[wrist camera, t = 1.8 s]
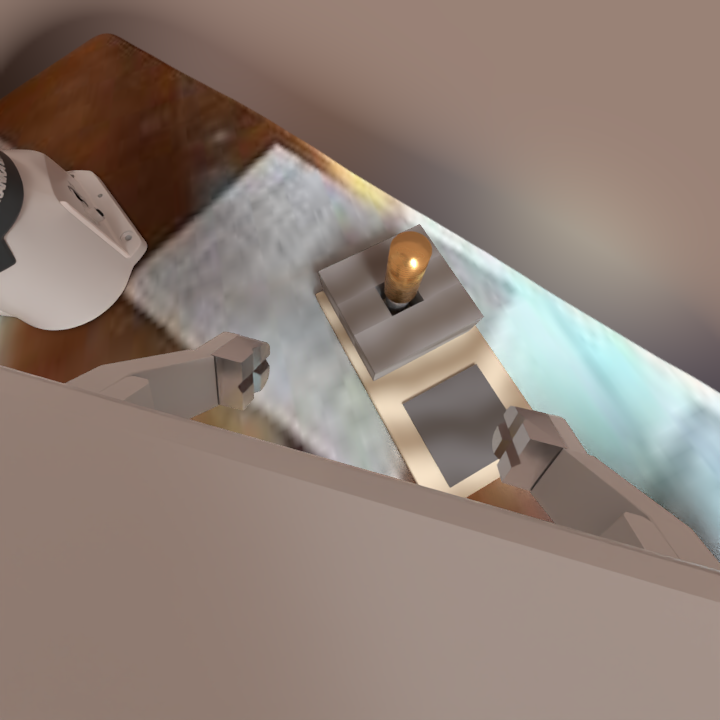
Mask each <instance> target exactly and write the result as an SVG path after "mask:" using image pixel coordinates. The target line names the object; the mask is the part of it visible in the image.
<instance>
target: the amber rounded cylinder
mask: <svg viewBox="0 0 720 720" xmlns="http://www.w3.org/2000/svg"><path fill="white" fill-rule="evenodd" d="M431 255H432V246H431V243H430V241H429V240H428V239H427V238H426V237H425V236H424V235H422V234H420V233H418V232H414V231H407V232H402V233H400V234H398V235H397V236H396V237H395V238H394V239H393V240H392V242H391V244H390V250H389V257H388V263H387V270H386V276H385V283H384V292H385V295H386V301H385V305H386V306H387V308H388V310H389V311H390V313H391V315H392V316H394V315H396V314H398V313H400V312H402V311H404V310H406V309H407V306H408V303H409V302H410V301H411V300H412V299H413V298H414V297H415V296H416V293H417V291H418V288H419V286H420V283H421V281H422V278H423V275H424V273H425V270H426V268H427V265H428V263H429V260H430V257H431Z"/></svg>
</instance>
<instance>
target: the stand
mask: <svg viewBox="0 0 720 720" xmlns="http://www.w3.org/2000/svg"><path fill="white" fill-rule="evenodd" d="M407 231H414V232H418V233H420V234H422V235H424V236H425V237H426V238H427V239H428V240H429V241H430V243H431V246H432V255H431V257H430V260H429V263H428V265H427V268H426V270H425V273H424V275H423V278H422V281H421V283H420V286H419V288H418V291H417V293H416V296H415V297H414V298H413V299H412V300H411V301H410V302H409V303H408V306H407V309H406V310H404V311H402V312H400V313H398V314H396V315H394V316H392V315H391V313H390V311H389V310H388V308H387V306H386V305H385V301H386V295H385V292H384V283H385V276H386V270H387V263H388V257H389V250H390V244H391V242H392V240H393V239H394V238H395V237H396V236H397V235H395V236H393V237H391V238H389V239H387V240H385V241H383V242H380V243H378V244H376V245H374V246H372V247H370V248H367V249H365V250H363V251H361V252H359V253H357V254H355V255H352V256H350V257H348V258H346V259H344V260H342V261H339V262H337V263H335V264H333V265H331V266H329V267H327V268H324V269H322V270H320V271H318V272H319V276H320V280H321V284H322V288H323V291H321V292H319V293H317V294H315V295H316V298H317V301H318V302H319V304H320V306H321V308H322V310H323V312H324V314H325V315H326V317H327V319H328V321H329V323H330V325H331V326H332V328H333V330H334V332H335V334H336V336H337V338H338V339H339V341H340V343H341V345H342V347H343V349H344V351H345V352H346V354H347V356H348V358H349V360H350V362H351V363H352V365H353V367H354V369H355V371H356V373H357V375H358V376H359V378H360V380H361V382H362V384H363V386H364V387H365V389H366V391H367V393H368V395H369V397H370V399H371V400H372V402H373V404H374V406H375V408H376V410H377V412H378V413H379V415H380V417H381V419H382V421H383V423H384V424H385V426H386V428H387V430H388V432H389V434H390V436H391V437H392V439H393V441H394V443H395V445H396V447H397V448H398V450H399V452H400V454H401V456H402V458H403V460H404V461H405V463H406V465H407V467H408V469H409V471H410V472H411V474H412V476H413V478H414V480H415V482H416V484H418V485H421V486H425V487H428V488H432V489H435V490H439V491H442V492H446V493H449V494H453V495H456V496H460V497H463V498H466V497H468V496H469V495H471V494H473V493H474V492H476V491H478V490H479V489H481V488H482V487H484V486H486V485H487V484H489V483H491V482H492V481H494V480H496V479H497V478H499V477H500V474H499V471H498V467H497V464H498V462H499V459H498V458H497V457H496V456H495V455H494V453H493V449H492V439H493V434H494V432H495V430H496V428H497V426H498V425H500V424H502V423H504V422H505V419H504V413H505V412H506V410H507V409H508V408H509V407H510V406H516V407H520V408H524V409H529V410H532V408H531V407H530V405H529V404H528V402H527V401H526V399H525V398H524V396H523V395H522V394H521V392H520V391H519V389H518V388H517V386H516V385H515V383H514V382H513V380H512V379H511V377H510V376H509V374H508V373H507V371H506V370H505V368H504V367H503V366H502V364H501V363H500V361H499V360H498V358H497V357H496V355H495V354H494V352H493V351H492V349H491V348H490V346H489V345H488V343H487V342H486V340H485V339H484V338H483V336H482V335H481V333H480V332H479V330H478V329H477V327H476V326H475V325H476V324H477V323H478V322H479V321H480V320H481V319H482V318H483V317H484V316H483V315H482V313H481V312H480V310H479V309H478V307H477V306H476V305H475V303H474V302H473V300H472V299H471V297H470V296H469V294H468V293H467V292H466V290H465V289H464V287H463V286H462V284H461V283H460V281H459V280H458V279H457V277H456V276H455V274H454V273H453V271H452V270H451V268H450V267H449V266H448V264H447V263H446V261H445V260H444V258H443V257H442V255H441V254H440V253H439V251H438V250H437V248H436V247H435V245H434V244H433V242H432V241H431V240H430V238H429V237H428V235H427V234H426V232H425V231H424V229H423V228H422V227H421V225H420V224H419V225H417V226H415V227H413V228H411V229H408V230H406V231H404V232H407Z"/></svg>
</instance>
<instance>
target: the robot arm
mask: <svg viewBox="0 0 720 720" xmlns="http://www.w3.org/2000/svg"><path fill="white" fill-rule="evenodd" d="M146 250H147V243H146V241H145V240H144V239H143V237H142V236H141V234H140V233H139V232H138V230H137V229H136V228H135V226H134V225H133V223H132V222H131V221H130V219H129V218H128V216H127V215H126V214H125V212H124V211H123V210H122V208H121V207H120V205H119V204H118V203H117V201H116V200H115V199H114V197H113V196H112V194H111V193H110V192H109V190H108V189H107V187H106V186H105V185H104V183H103V182H102V181H101V179H100V178H99V177H98V176H97V175H95V174H94V173H93V172H91V171H86V170H74V171H65V170H64V169H62V168H61V167H60V166H59V165H58V164H57V163H55V162H54V161H53V160H52V159H51V158H49V157H48V156H47V155H45V154H43V153H41V152H38V151H34V150H24V149H16V150H1V149H0V315H3V316H14V317H17V318H19V319H20V320H22V321H24V322H26V323H28V324H29V325H31V326H34V327H37V328H40V329H45V330H64V329H69V328H73V327H77V326H80V325H82V324H85V323H87V322H89V321H91V320H93V319H95V318H96V317H98V316H99V315H101V314H102V313H104V312H105V311H106V310H107V309H108V308H109V307H111V306H112V305H113V304H114V302H115V301H116V300H117V299H118V298H119V296H120V295H121V293H122V292H123V290H124V289H125V287H126V285H127V282H128V280H129V277H130V274H131V271H132V269H133V267H134V265H135V264H136V263H137V262H138V261H139V259H140V258H141V257H142V256H143V254H144V253H145V252H146ZM269 355H270V346H269V344H268V343H267V342H263V341H259V340H256V339H252V338H249V337H245V336H240V335H238V334H234V333H230V332H223V333H221V334H220V335H218V336H216V337H215V338H213V339H212V340H210V341H208V342H207V343H205V344H204V345H202V346H201V347H199V348H197V349H196V350H194V351H193V350H184V351H179V352H173V353H168V354H162V355H156V356H151V357H145V358H140V359H134V360H128V361H123V362H117V363H112V364H106V365H101V366H99V367H97V368H95V369H93V370H91V371H89V372H87V373H85V374H83V375H81V376H79V377H77V378H75V379H73V380H71V381H69V382H67V383H65V384H64V383H60V382H57V381H53V380H50V379H46V378H43V377H39V376H36V375H32V374H29V373H25V372H22V371H18V370H15V369H11V368H8V367H4V366H1V365H0V720H720V563H719V562H718V561H717V559H716V558H715V557H714V556H713V555H712V553H711V552H710V551H709V550H708V548H707V547H706V546H705V545H704V544H703V542H702V541H701V540H700V539H699V537H698V536H697V535H696V534H695V533H694V531H693V530H692V529H691V528H690V527H688V526H687V525H686V524H684V523H683V522H682V521H680V520H679V519H677V518H676V517H675V516H673V515H672V514H671V513H669V512H668V511H667V510H665V509H664V508H663V507H661V506H660V505H659V504H657V503H656V502H655V501H653V500H652V499H651V498H649V497H648V496H647V495H645V494H644V493H642V492H641V491H640V490H638V489H637V488H636V487H634V486H633V485H632V484H630V483H629V482H628V481H626V480H625V479H624V478H622V477H621V476H620V475H618V474H617V473H616V472H614V471H613V470H612V469H610V468H609V467H607V466H606V465H605V464H603V463H602V462H601V461H599V460H598V459H597V458H595V457H594V456H591V455H588V454H587V452H586V451H585V449H584V448H583V446H582V445H581V443H580V442H579V440H578V439H577V437H576V436H575V434H574V433H573V431H572V430H571V428H570V427H569V425H568V424H567V422H566V420H565V419H563V418H562V417H560V416H555V415H551V414H546V413H542V412H537V411H533V410H529V409H524V408H520V407H516V406H510V407H509V408H508V409H507V410H506V412H505V413H504V419H505V422H504V423H502V424H500V425H498V426H497V428H496V430H495V432H494V434H493V439H492V449H493V453H494V455H495V456H496V457H497V458H498V459H499V462H498V464H497V467H498V471H499V474H500V478H501V481H502V483H505V484H509V485H512V486H515V487H519V488H522V489H525V490H528V491H531V492H530V493H531V494H532V495H533V496H534V498H535V499H536V500H537V501H538V503H539V504H540V505H541V506H542V508H543V509H544V510H545V511H546V513H547V514H548V515H549V516H550V518H551V519H552V520H553V521H554V523H551V522H548V521H544V520H540V519H537V518H533V517H530V516H526V515H523V514H519V513H516V512H512V511H509V510H505V509H502V508H498V507H495V506H491V505H488V504H484V503H481V502H477V501H474V500H470V499H467V498H463V497H460V496H456V495H453V494H449V493H446V492H442V491H439V490H435V489H432V488H428V487H425V486H421V485H418V484H414V483H411V482H407V481H404V480H400V479H397V478H393V477H390V476H386V475H383V474H379V473H376V472H372V471H369V470H365V469H362V468H358V467H355V466H351V465H347V464H344V463H340V462H337V461H333V460H330V459H326V458H323V457H319V456H316V455H312V454H309V453H305V452H302V451H298V450H295V449H291V448H288V447H284V446H281V445H277V444H274V443H270V442H267V441H263V440H260V439H256V438H253V437H249V436H246V435H242V434H239V433H235V432H232V431H228V430H225V429H221V428H218V427H214V426H211V425H207V424H204V423H200V422H197V421H193V420H190V418H192V417H194V416H196V415H198V414H201V413H203V412H205V411H207V410H210V409H212V408H214V407H216V406H218V404H219V405H223V406H227V407H231V408H235V409H239V410H244V409H245V408H246V407H247V406H248V404H249V403H250V402H251V401H252V400H253V399H254V393H255V392H258V391H261V390H262V388H263V387H264V386H265V384H266V382H267V379H268V376H269V364H268V362H267V361H266V358H267V357H268V356H269Z"/></svg>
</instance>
